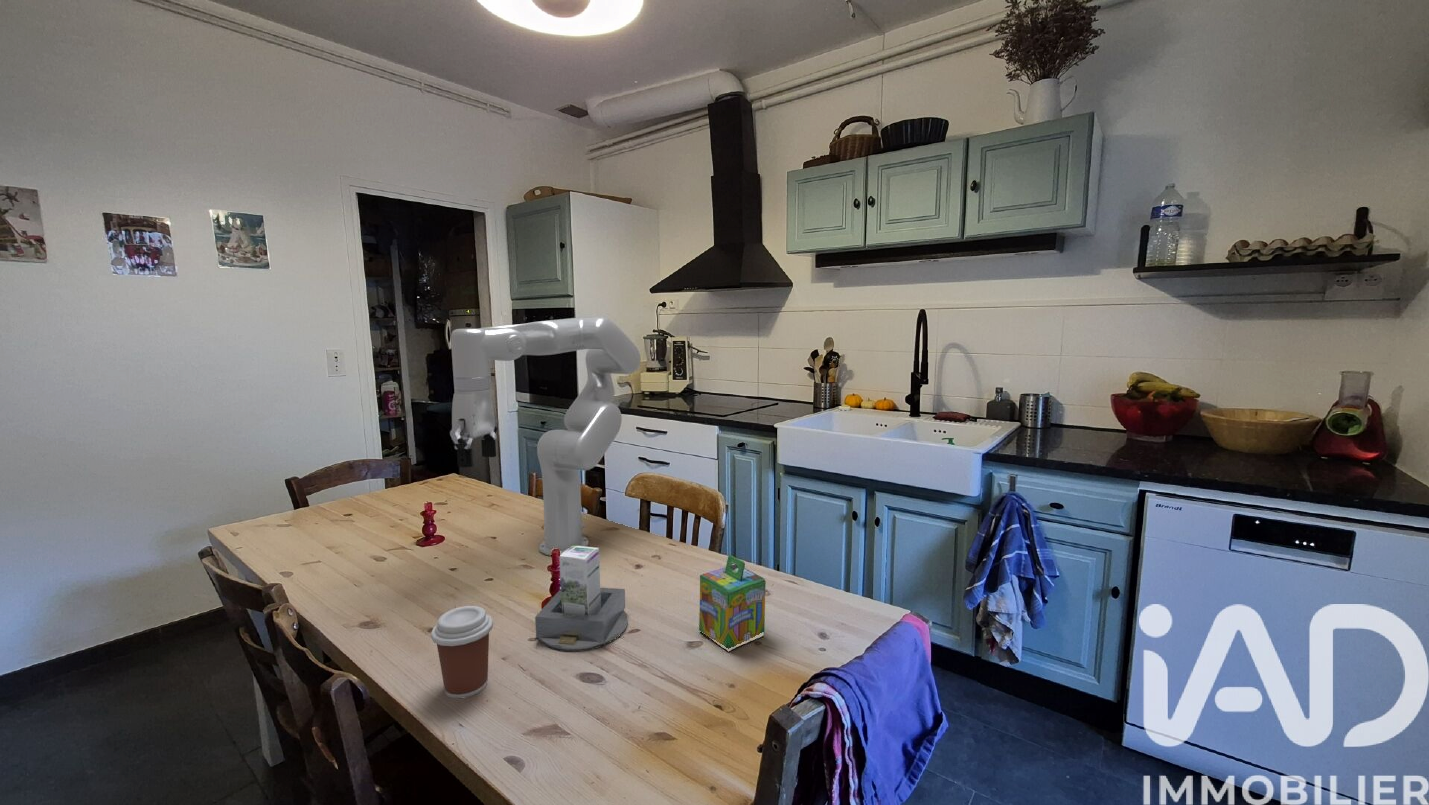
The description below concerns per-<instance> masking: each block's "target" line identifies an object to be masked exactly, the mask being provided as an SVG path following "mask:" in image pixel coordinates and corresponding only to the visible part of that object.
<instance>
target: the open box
mask: <svg viewBox="0 0 1429 805" xmlns="http://www.w3.org/2000/svg"><path fill="white" fill-rule="evenodd" d="M600 595H601V610H600V611H599V613H598V614H597V615H583V614H568V613H562V602H561V588H560V589H559V590H558V592H556V594H554V595H553V597H552V598H551V599H550V600H549V601H548V602H547V604H545V605H544V607H543V608H542V609H541V610H540V611H539V612H538V613H537V614H536V616H535V617H534V619H535V620H534V621H535V624H534V625H535V637H536V638H537V639H538V640H539V642H540V641H541V642H542V643H541V642H540V643H541V644H543V645H544V646H545V647H547V648H549V647H550V648H549V649H553V650H555V651H560V650H563V651H562V652H582V651H581V650H585V651H589V650H593V649H592V648H594V649H597V648H596V647H598V648H600V647H599V646H601V647H604V646H605V645H604V644H606V645H608V644H610V643H611V642H610V641H612V642H614V641H615V640H614V639H615V638H617V637H618V636H619V635H621V634H622V632H623V631H624V630H625V629H627V627H628V615H627V613H626V611H625V609H626V590H625V588H615V587H614V588H613V587H600ZM626 626H627V627H626ZM625 631H626V630H625ZM625 631H624V632H625ZM622 635H623V634H622ZM622 635H621V636H622ZM618 638H619V637H618ZM618 638H617V639H618ZM613 640H614V641H613ZM609 642H610V643H609ZM607 643H608V644H607ZM603 645H604V646H603Z"/></svg>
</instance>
